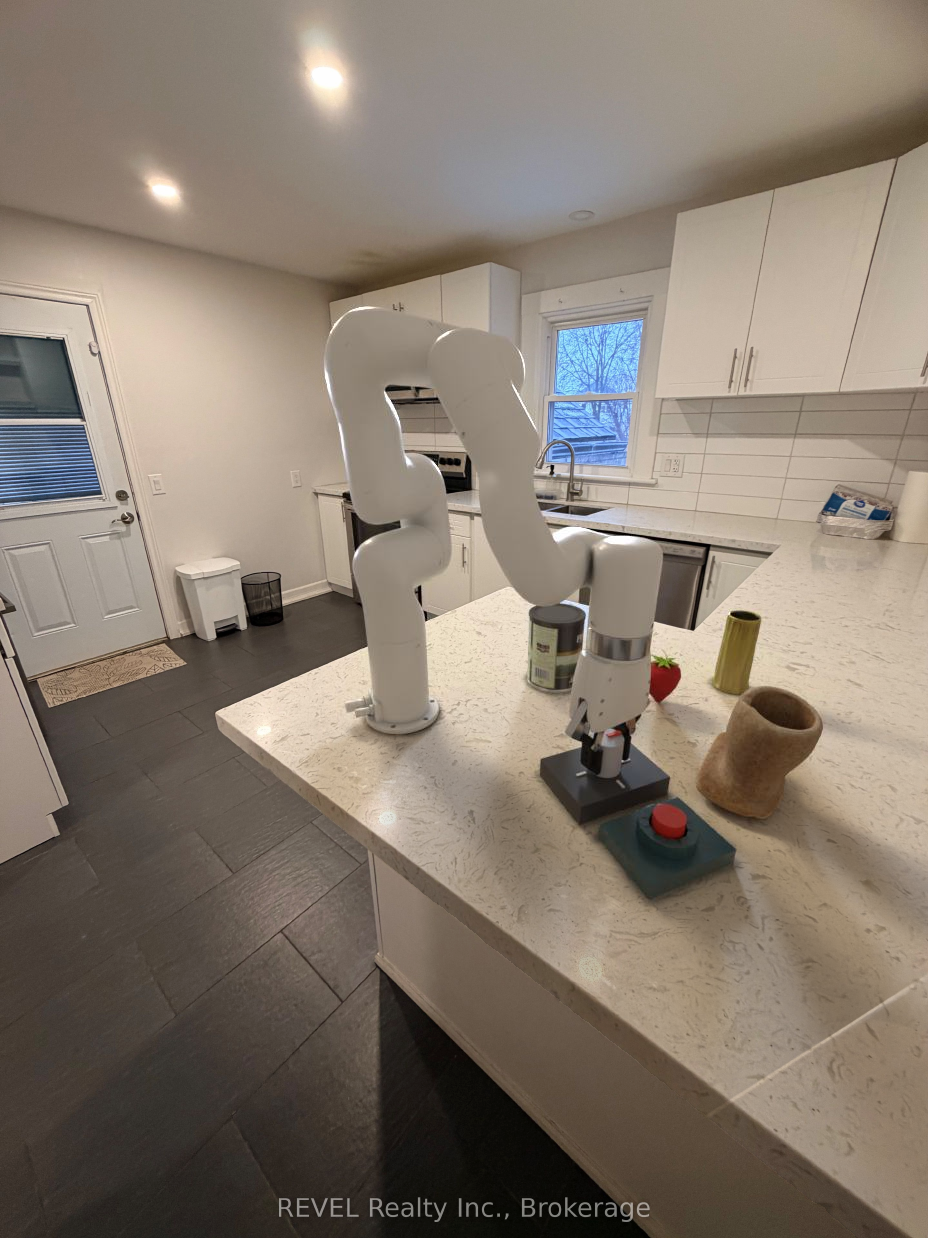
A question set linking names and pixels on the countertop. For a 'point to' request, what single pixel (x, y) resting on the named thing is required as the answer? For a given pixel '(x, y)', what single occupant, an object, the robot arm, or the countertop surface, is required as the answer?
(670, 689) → the strawberry
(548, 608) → the coffee can
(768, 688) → the stone cup
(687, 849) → the button block
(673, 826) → the button
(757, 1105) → the countertop surface
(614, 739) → the hob knob
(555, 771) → the hob panel
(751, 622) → the vase
